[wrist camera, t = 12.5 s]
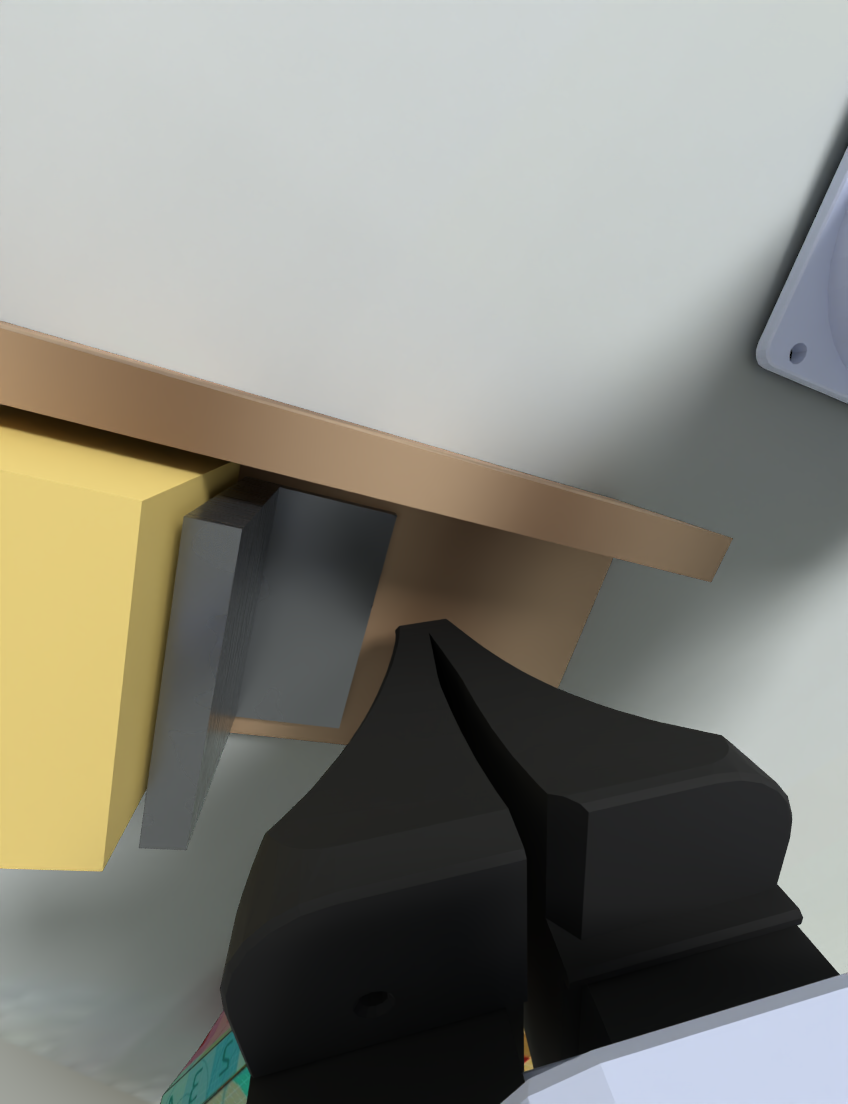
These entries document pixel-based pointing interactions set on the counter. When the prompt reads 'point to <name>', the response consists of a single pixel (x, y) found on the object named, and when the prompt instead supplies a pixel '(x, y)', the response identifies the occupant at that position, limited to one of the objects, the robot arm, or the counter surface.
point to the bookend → (257, 631)
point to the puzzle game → (226, 1071)
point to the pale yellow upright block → (84, 627)
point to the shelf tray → (389, 484)
